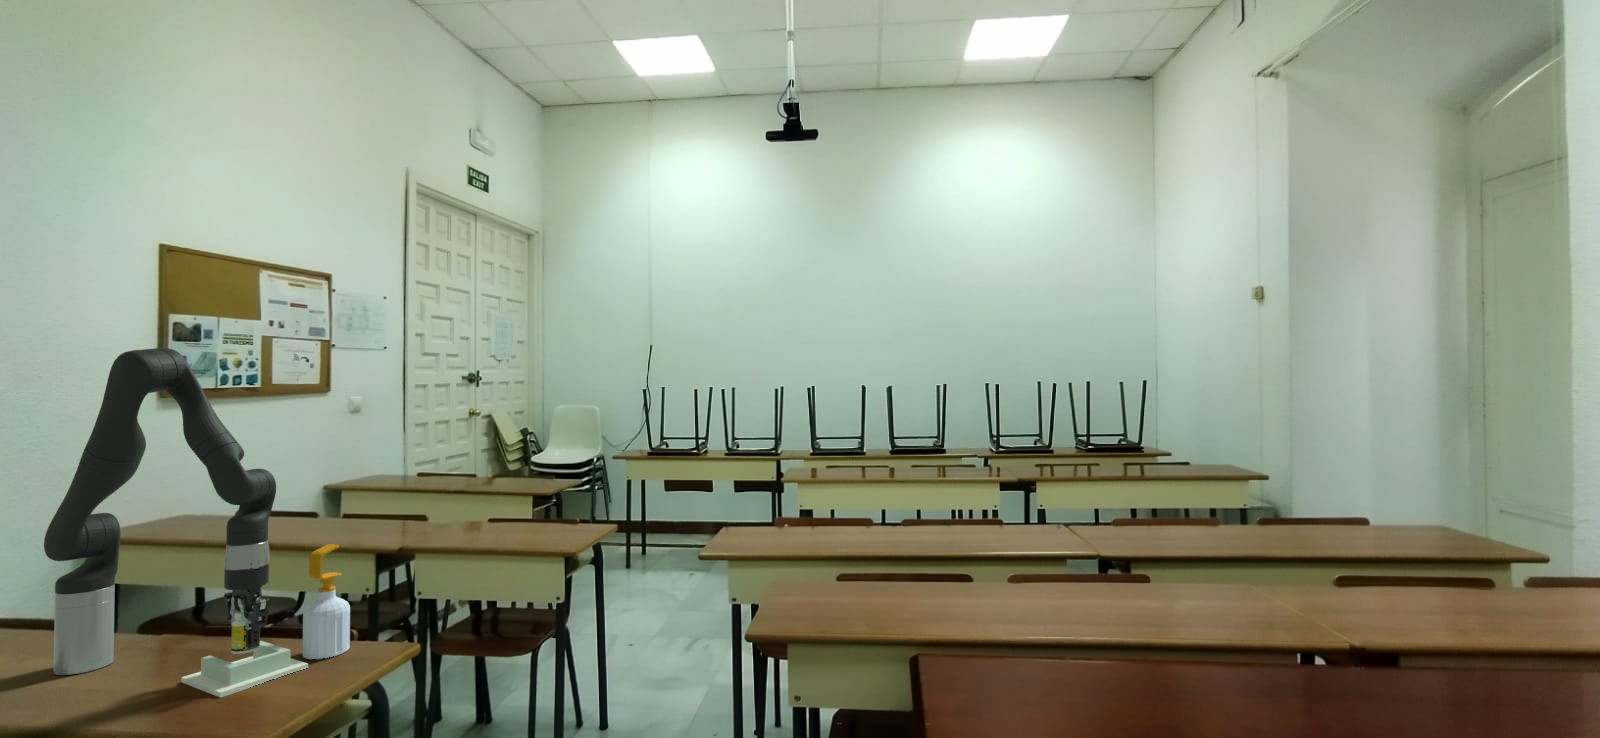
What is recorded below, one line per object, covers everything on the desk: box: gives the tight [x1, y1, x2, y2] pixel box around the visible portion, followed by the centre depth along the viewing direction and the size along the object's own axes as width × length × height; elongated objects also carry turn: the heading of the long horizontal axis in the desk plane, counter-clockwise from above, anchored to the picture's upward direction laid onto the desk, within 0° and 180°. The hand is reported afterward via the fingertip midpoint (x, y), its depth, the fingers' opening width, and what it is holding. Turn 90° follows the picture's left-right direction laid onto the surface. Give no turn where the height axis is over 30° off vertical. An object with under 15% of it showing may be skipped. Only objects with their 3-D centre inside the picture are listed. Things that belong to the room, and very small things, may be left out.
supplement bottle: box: [230, 611, 260, 655], centre depth 149 cm, size 5×5×8 cm
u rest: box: [180, 640, 309, 698], centre depth 149 cm, size 16×16×4 cm
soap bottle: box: [302, 543, 351, 660], centre depth 161 cm, size 9×9×25 cm
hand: (246, 643), depth 149 cm, fingers closed on supplement bottle, 4 cm apart
